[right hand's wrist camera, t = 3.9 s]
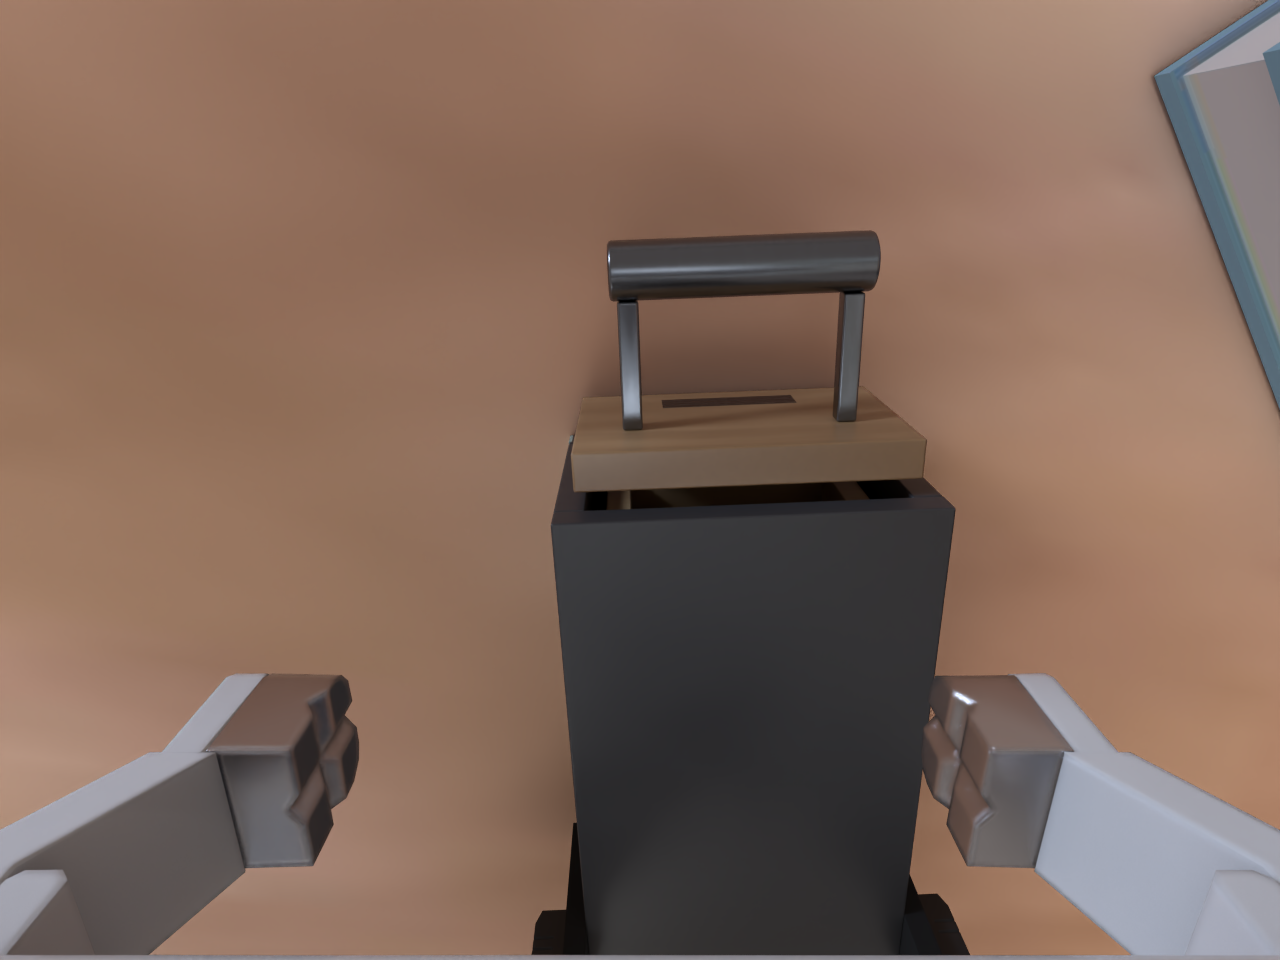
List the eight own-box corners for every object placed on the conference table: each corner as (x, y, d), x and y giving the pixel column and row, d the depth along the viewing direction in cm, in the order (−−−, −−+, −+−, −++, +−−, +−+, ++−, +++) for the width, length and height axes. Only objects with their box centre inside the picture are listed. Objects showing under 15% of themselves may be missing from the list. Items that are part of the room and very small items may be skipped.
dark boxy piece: (570, 435, 28) (549, 524, 20) (869, 423, 28) (957, 507, 20) (600, 844, 35) (593, 1019, 28) (837, 834, 35) (893, 1006, 28)
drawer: (571, 234, 24) (555, 247, 19) (876, 222, 24) (950, 232, 19) (610, 812, 33) (606, 939, 27) (833, 803, 33) (875, 927, 28)
